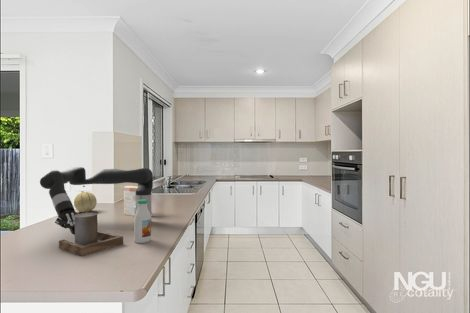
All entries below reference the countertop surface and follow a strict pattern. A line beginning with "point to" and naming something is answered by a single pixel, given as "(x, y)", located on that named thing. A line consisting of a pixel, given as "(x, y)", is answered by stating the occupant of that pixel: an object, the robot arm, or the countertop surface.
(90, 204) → the cantaloupe
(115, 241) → the display frame
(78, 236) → the pillar candle
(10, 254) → the countertop surface
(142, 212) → the milk bottle
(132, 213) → the coffeecake box
